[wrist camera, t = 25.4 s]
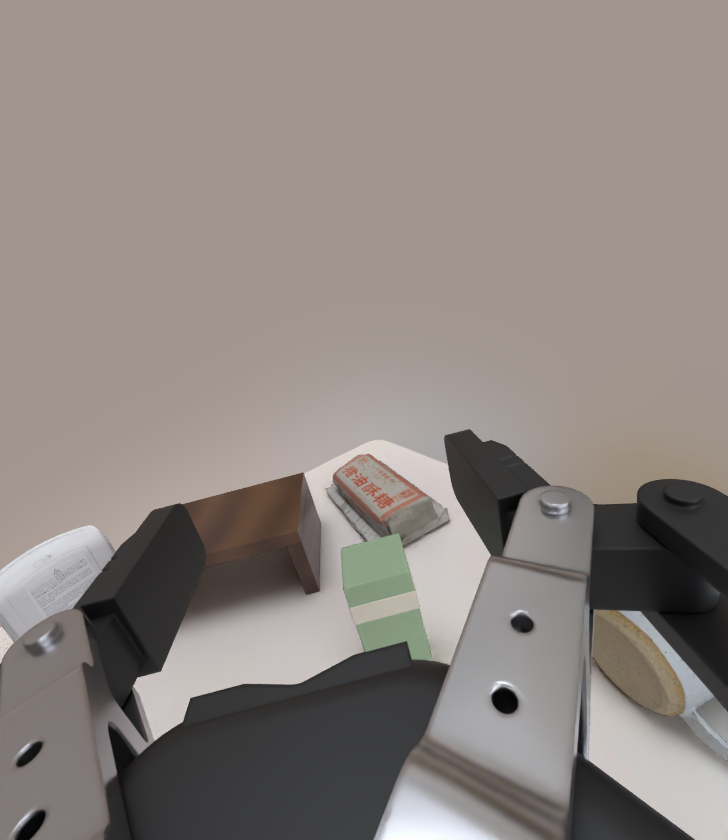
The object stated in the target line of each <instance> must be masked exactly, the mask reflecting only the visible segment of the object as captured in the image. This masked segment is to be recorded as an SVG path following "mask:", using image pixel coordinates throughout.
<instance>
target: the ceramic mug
mask: <svg viewBox="0 0 728 840" xmlns="http://www.w3.org/2000/svg"><path fill="white" fill-rule="evenodd" d="M592 657H593V658H594V660H595V661H596V662H597V664H598V665H599V667H600V668H601V669H602V670H603V671H604V672H605V674H606V675H607V676H608V677H609V678H610V679H611V680H612V682H613V683H615V684H616V685H617V686H618V687H619V688H620V689H621V690H622V691H623V692H624V693H625V694H627V695H628V696H629V697H630V698H632V699H633V700H634V701H635V702H637V703H638V704H640V705H642V706H643V707H645V708H647V709H649V710H651V711H654V712H656V713H659V714H663V715H666V716H675V715H679V716H681V717H682V718H683V720H684V721H685V722H686V723H687V724H688V726H689V727H690V729H691V730H692V731H693V732H694V734H695V735H696V736H697V737H698V738H699V739H700V740H701V741H703V742H704V743H705V744H706V745H707V746H709V747H710V748H711V749H712V750H713V751H714V752H715V753H717V754H718V755H719V756H721V757H722V758H723V759H725V760H726V761H728V743H727V742H726V741H725V740H724V739H723V738H722V737H721V736H720V735H718V734H717V733H716V732H715V731H714V730H713V729H712V728H711V727H710V726H709V725H708V723H707V722H706V721H705V720H704V719H703V718H702V717H701V716H700V715H699V714H698V712H697V710H696V709H697V708H699V707H700V706H702V705H703V704H704V703H706V702H707V701H709V700H710V699H712V698H714V697H715V696H714V695H713V694H712V693H711V692H710V691H709V690H708V688H707V687H706V686H705V685H704V684H703V683H702V681H701V680H700V679H699V678H698V677H697V676H696V675H695V673H694V672H693V671H692V670H691V669H690V668H689V667H688V665H687V664H686V663H685V662H684V661H683V660H682V659H681V657H680V656H679V655H678V654H677V653H676V652H675V651H674V649H673V648H672V647H671V646H670V645H669V644H668V643H667V641H666V640H665V639H664V638H663V637H662V636H661V635H660V633H659V632H658V631H657V630H656V629H655V628H654V627H653V625H652V624H651V623H650V622H649V621H648V620H647V618H646V617H645V616H644V615H643V614H642V613H641V612H640V611H618V610H595V616H594V636H593V655H592Z"/></svg>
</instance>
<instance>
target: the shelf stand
mask: <svg viewBox="0 0 728 840" xmlns="http://www.w3.org/2000/svg"><path fill="white" fill-rule="evenodd" d="M182 505H184V506H185V507H186V509H187V511H188V513H189V515H190V517H191V519H192V521H193V523H194V525H195V527H196V529H197V531H198V533H199V535H200V537H201V539H202V541H203V544H204V546H205V550H206V564H205V567H204V568H207V567H210V566H214V565H218V564H222V563H225V562H229V561H233V560H237V559H240V558H244V557H248V556H252V555H256V554H259V553H263V552H267V551H271V550H274V549H278V548H282V547H286V546H287V548H288V550H289V553H290V555H291V558H292V560H293V563H294V565H295V568H296V571H297V573H298V576H299V578H300V581H301V583H302V586H303V588H304V591H305V593H306V595H307V594H311V593H314V592H318V591H320V533H321V522H320V519H319V516H318V514H317V511H316V508H315V505H314V502H313V499H312V496H311V493H310V490H309V487H308V484H307V481H306V478H305V475H304V473H300V474H296V475H292V476H289V477H284V478H281V479H277V480H273V481H270V482H265V483H262V484H258V485H254V486H251V487H247V488H243V489H239V490H236V491H231V492H228V493H224V494H220V495H216V496H212V497H209V498H205V499H201V500H197V501H194V502H190V503H186V504H182Z"/></svg>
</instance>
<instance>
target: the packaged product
mask: <svg viewBox="0 0 728 840" xmlns="http://www.w3.org/2000/svg"><path fill="white" fill-rule="evenodd" d="M333 482H334V484H332V485H331V487H328V488H325V490H326V492H327V494H328V495H329V496H330V498H331V499H332V500H333V501H334V502H335V503H336V504H337V505H338V506H339V507H340V509H341V510H342V511H343V513H344V514H345V515H346V517H347V518H348V519H349V521H350V522H351V524H352V525H353V527H354V529H355V530H356V531H358V532H359V533H360V534H362V536H363V537H364V538H365V540H366V541H371V540H374V539H378V538H382V537H386V536H390V535H393V534H397V533H399V535H400V538H401V542H402V545H403V546H404V545H405V544H407V543H409V542H411V541H413V540H415V539H417V538H418V537H420V536H422V535H424V534H426V533H427V532H429V531H431V530H433V529H435V528H436V527H438V526H440V525H442V524H444V523H445V522H447V521H449V516H448V511H447V509H446V508H443V507H442V506H441V504H439V503H437V502H436V501H435V500H433V499H432V498H431V497H429V496H428V495H426V494H425V493H423V492H422V491H421V490H419V489H418V488H417V487H415V486H414V485H413V484H411V483H410V482H409V481H407V480H406V479H404V478H403V477H402V476H400V475H398V474H397V473H396V472H395V471H394V470H392V469H391V468H390V467H388V466H387V465H386V464H384V463H382V462H381V461H378V460H377V459H375V458H374V457H373V456H372V455H370V454H366V455H358V456H356V457H354V458H353V459H352V460H351V461H349V462H348V463H347V464H345V465H344V466H343V467H342V468H340V469H339V470H337V471H336V472H335V473H334V475H333Z"/></svg>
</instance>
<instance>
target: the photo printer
mask: <svg viewBox="0 0 728 840" xmlns="http://www.w3.org/2000/svg"><path fill="white" fill-rule="evenodd" d="M114 554H115V550H114V548H113V547H112V545H111V543H110V542H109V540H108V539H107V538H106V536H105V535H104V534H103V533H101V532H100V531H98V529H97V528H96V527H93V526H92V525H89V526H85V527H81V528H77V529H74V530H71V531H68V532H66V533H63V534H60V535H58V536H56V537H54V538H51V539H49V540H47V541H45V542H43V543H41V544H39V545H38V546H36V547H34V548H32V549H31V550H29V551H27V552H25V553H24V554H22V555H21V556H20V557H18V558H17V559H15V560H14V561H12V562H11V563H9V564H8V565H7V566H5V567H4V568H3V569H2V570H0V625H1V626H2V627H3V628H4V630H5V631H6V632H7V634H8V635H9V636H10V637H11V639H12V640H13V641H14V643H15V642H16V641H17V640H18V639H19V638H20V637H21V636H22V635H23V634H24V633H26V632H27V631H28V630H29V629H31V628H32V627H33V626H35V625H36V624H38V623H39V622H41V621H43V620H44V619H46V618H48V617H50V616H52V615H54V614H56V613H59V612H62V611H65V610H70V609H72V608H73V607H74V606H75V604H76V603H77V602H78V600H79V599H80V598H81V596H82V595H83V594H84V593H85V591H86V590H87V589H88V587H89V586H90V585H91V584H92V582H93V581H94V580H95V578H96V577H97V576H98V574H99V573H102V569H103V568H104V567H105V565H106V564H107V563H108V561H111V558H112V556H113V555H114Z"/></svg>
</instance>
